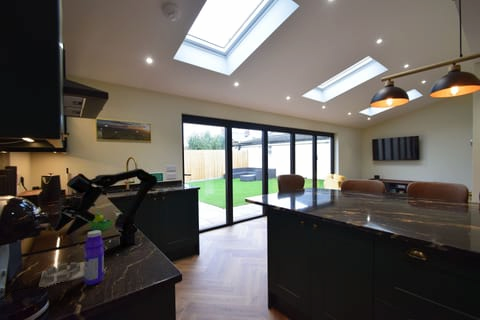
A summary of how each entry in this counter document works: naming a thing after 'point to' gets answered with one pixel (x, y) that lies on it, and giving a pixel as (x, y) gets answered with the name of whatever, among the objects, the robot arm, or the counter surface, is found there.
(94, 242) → the bottle
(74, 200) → the robot arm
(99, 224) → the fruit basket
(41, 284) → the collar plate
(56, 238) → the counter surface
